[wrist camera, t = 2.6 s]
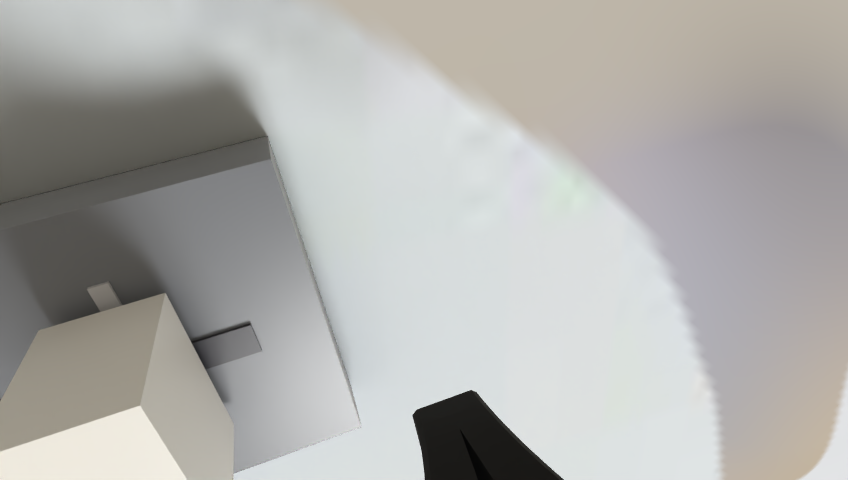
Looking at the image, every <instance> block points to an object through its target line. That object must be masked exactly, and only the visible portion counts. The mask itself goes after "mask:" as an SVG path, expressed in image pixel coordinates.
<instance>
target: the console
mask: <svg viewBox="0 0 848 480" xmlns="http://www.w3.org/2000/svg"><path fill="white" fill-rule="evenodd" d="M163 293H166V295H167V297H168V299H169V301H170V302H171V304H172V306H173V308H174V310H175V312H176V314H177V316H178V318H179V320H180V322H181V324H182V326H183V327H184V329H185V331H186V333H187V335H188V337H189V339H190V341H191V343H192V345H193V347H194V349H195V351H196V352H197V354H198V356H199V358H200V360H201V362H202V364H203V366H204V368H205V370H206V372H207V374H208V376H209V378H210V379H211V381H212V383H213V385H214V387H215V389H216V391H217V393H218V395H219V397H220V399H221V401H222V403H223V404H224V406H225V408H226V410H227V412H228V414H229V416H230V418H231V420H232V422H233V424H234V465H233V474H234V473H237V472H239V471H242V470H245V469H248V468H250V467H253V466H256V465H259V464H261V463H264V462H267V461H270V460H272V459H275V458H278V457H281V456H284V455H286V454H289V453H292V452H295V451H297V450H300V449H303V448H306V447H308V446H311V445H314V444H317V443H319V442H322V441H325V440H328V439H330V438H333V437H336V436H339V435H341V434H344V433H347V432H350V431H353V430H355V429H358V428H361V423H360V419H359V415H358V411H357V408H356V404H355V400H354V396H353V392H352V388H351V385H350V382H349V379H348V376H347V373H346V370H345V367H344V364H343V361H342V358H341V355H340V352H339V349H338V346H337V343H336V340H335V337H334V334H333V331H332V328H331V325H330V322H329V319H328V316H327V313H326V310H325V307H324V304H323V301H322V298H321V295H320V292H319V289H318V286H317V283H316V280H315V277H314V274H313V271H312V268H311V265H310V262H309V259H308V256H307V253H306V250H305V247H304V244H303V241H302V238H301V235H300V232H299V229H298V226H297V223H296V220H295V217H294V214H293V211H292V208H291V205H290V202H289V199H288V196H287V193H286V190H285V187H284V184H283V181H282V178H281V175H280V172H279V169H278V166H277V163H276V160H275V157H274V154H273V151H272V148H271V145H270V142H269V139H268V136H266V137H262V138H258V139H254V140H250V141H246V142H242V143H238V144H234V145H230V146H226V147H223V148H219V149H215V150H211V151H207V152H203V153H199V154H195V155H191V156H187V157H183V158H180V159H176V160H172V161H168V162H164V163H160V164H156V165H152V166H148V167H144V168H140V169H136V170H133V171H129V172H125V173H121V174H117V175H113V176H109V177H105V178H101V179H97V180H93V181H89V182H86V183H82V184H78V185H74V186H70V187H66V188H62V189H58V190H54V191H50V192H46V193H43V194H39V195H35V196H31V197H27V198H23V199H19V200H15V201H11V202H7V203H3V204H0V401H1V399H2V397H3V395H4V393H5V392H6V390H7V388H8V386H9V384H10V382H11V381H12V379H13V377H14V375H15V373H16V371H17V369H18V368H19V366H20V364H21V362H22V360H23V358H24V357H25V355H26V353H27V351H28V349H29V347H30V345H31V344H32V342H33V340H34V338H35V336H36V334H37V333H38V331H39V330H41V329H45V328H48V327H51V326H55V325H58V324H62V323H65V322H68V321H72V320H75V319H78V318H82V317H85V316H89V315H92V314H95V313H99V312H102V311H105V310H109V309H112V308H115V307H119V306H122V305H126V304H129V303H132V302H136V301H139V300H142V299H146V298H149V297H152V296H156V295H159V294H163Z"/></svg>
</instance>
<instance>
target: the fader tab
mask: <svg viewBox="0 0 848 480" xmlns="http://www.w3.org/2000/svg"><path fill="white" fill-rule="evenodd" d="M233 465H234V424H233V422H232V420H231V418H230V416H229V414H228V412H227V410H226V408H225V406H224V404H223V403H222V401H221V399H220V397H219V395H218V393H217V391H216V389H215V387H214V385H213V383H212V381H211V379H210V378H209V376H208V374H207V372H206V370H205V368H204V366H203V364H202V362H201V360H200V358H199V356H198V354H197V352H196V351H195V349H194V347H193V345H192V343H191V341H190V339H189V337H188V335H187V333H186V331H185V329H184V327H183V326H182V324H181V322H180V320H179V318H178V316H177V314H176V312H175V310H174V308H173V306H172V304H171V302H170V301H169V299H168V297H167V295H166V293H163V294H159V295H156V296H152V297H149V298H146V299H142V300H139V301H136V302H132V303H129V304H126V305H122V306H119V307H115V308H112V309H109V310H105V311H102V312H99V313H95V314H92V315H89V316H85V317H82V318H78V319H75V320H72V321H68V322H65V323H62V324H58V325H55V326H51V327H48V328H45V329H41V330H39V331H38V333H37V334H36V336H35V338H34V340H33V342H32V344H31V345H30V347H29V349H28V351H27V353H26V355H25V357H24V358H23V360H22V362H21V364H20V366H19V368H18V369H17V371H16V373H15V375H14V377H13V379H12V381H11V382H10V384H9V386H8V388H7V390H6V392H5V393H4V395H3V397H2V399H1V401H0V480H233Z"/></svg>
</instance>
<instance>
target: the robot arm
mask: <svg viewBox="0 0 848 480" xmlns="http://www.w3.org/2000/svg"><path fill="white" fill-rule="evenodd" d="M413 419H414V423H415V427H416V431H417V435H418V438H419V442H420V446H421V450H422V457H423V465H424V473H425V480H564V479H562V478H561V477H560V476H559V475H558V474H557V473H555V472H554V471H553V470H552V469H551V468H550V467H549V466H548V465H547V464H545V463H544V462H543V461H542V460H541V459H540V458H539V457H538V456H537V455H536V454H535V453H533V452H532V451H531V450H530V449H529V448H528V447H527V446H526V445H525V444H524V443H523V442H522V441H521V440H520V439H519V438H518V437H517V436H516V435H515V434H514V433H513V432H512V431H511V430H510V429H509V428H508V427H507V426H506V425H505V424H504V423H503V422H502V421H501V420H500V419H499V418H498V417H497V416H496V415H495V414H494V412H493V411H492V410H491V409H490V408H489V407H488V406H487V404H486V403H485V402H484V401H483V400H482V399H481V397H480V396H479V395H478V394H477V392H474V391H472V390H470V391H467V392H465V393H462V394H459V395H456V396H453V397H451V398H448V399H445V400H442V401H440V402H437V403H434V404H431V405H429V406H426V407H423V408H420V409H417V410H416V411H415V413H414V414H413Z"/></svg>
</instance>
